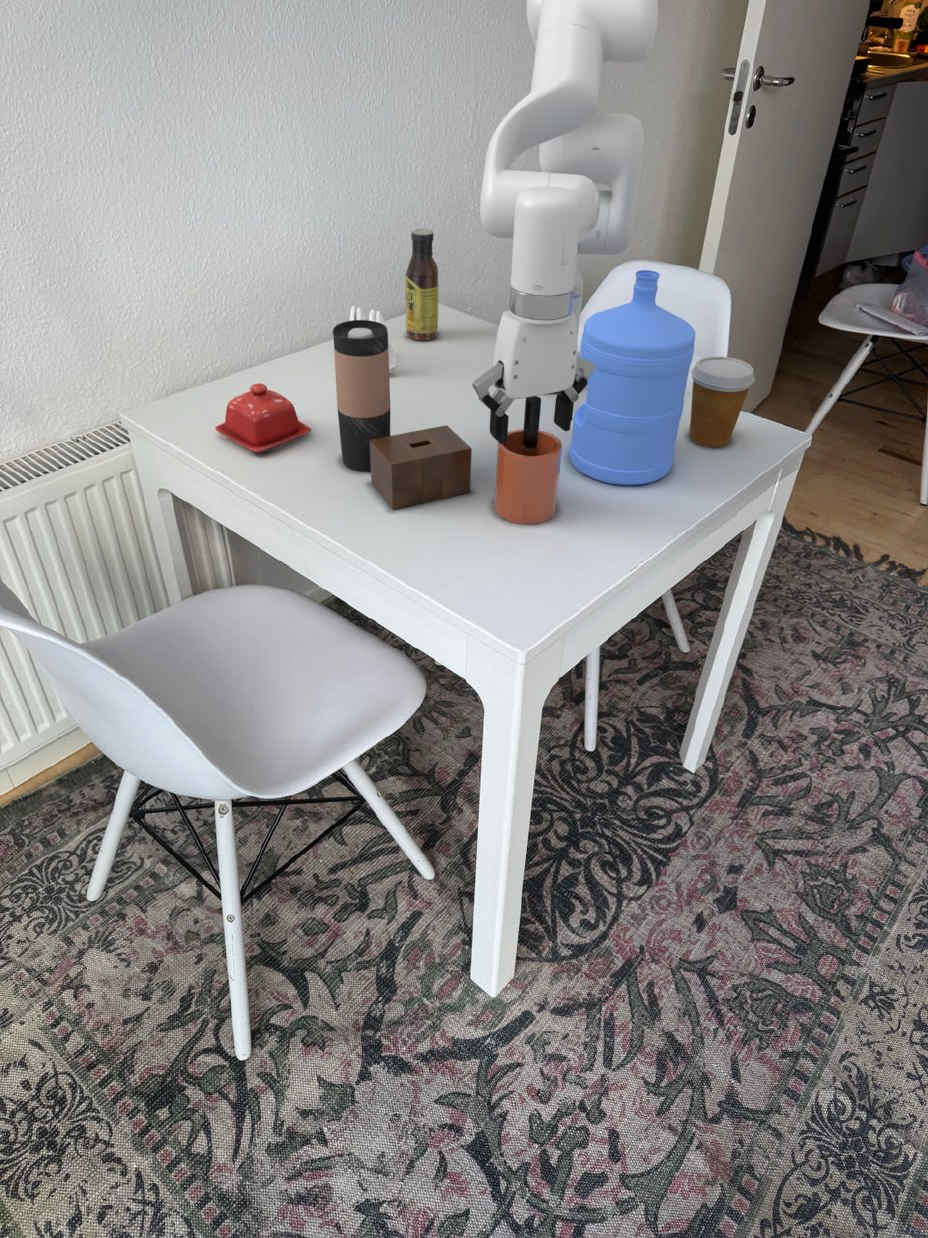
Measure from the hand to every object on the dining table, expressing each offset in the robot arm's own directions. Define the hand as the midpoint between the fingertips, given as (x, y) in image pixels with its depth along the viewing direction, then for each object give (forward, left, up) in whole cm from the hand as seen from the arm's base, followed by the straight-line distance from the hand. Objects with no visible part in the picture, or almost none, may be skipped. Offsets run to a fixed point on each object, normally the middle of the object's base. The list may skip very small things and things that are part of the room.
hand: (530, 433), depth 117 cm
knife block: (+11, -11, -11) cm, 19 cm away
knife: (0, 0, -11) cm, 11 cm away
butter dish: (+27, -36, -12) cm, 46 cm away
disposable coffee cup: (-38, -7, -12) cm, 40 cm away
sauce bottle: (-14, -66, -12) cm, 68 cm away
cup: (0, 0, -11) cm, 11 cm away
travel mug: (+15, -22, -12) cm, 29 cm away
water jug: (-20, -6, -12) cm, 24 cm away
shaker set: (+1, -55, -12) cm, 56 cm away
